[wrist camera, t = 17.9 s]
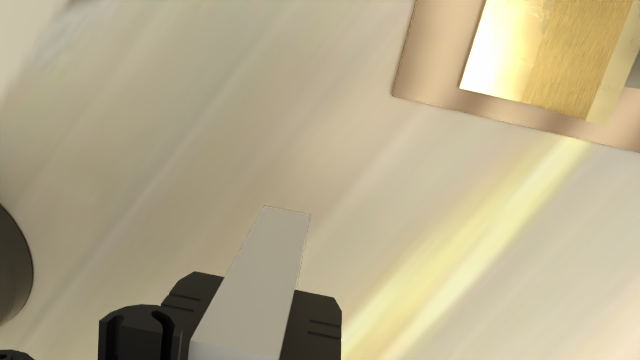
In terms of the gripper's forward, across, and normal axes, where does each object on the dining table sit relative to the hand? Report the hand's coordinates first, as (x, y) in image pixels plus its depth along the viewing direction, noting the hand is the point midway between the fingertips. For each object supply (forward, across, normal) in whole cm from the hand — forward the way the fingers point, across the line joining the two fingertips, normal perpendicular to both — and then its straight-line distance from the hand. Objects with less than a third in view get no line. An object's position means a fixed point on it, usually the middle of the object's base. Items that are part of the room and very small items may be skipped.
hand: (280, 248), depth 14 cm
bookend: (+17, +11, +10) cm, 23 cm away
